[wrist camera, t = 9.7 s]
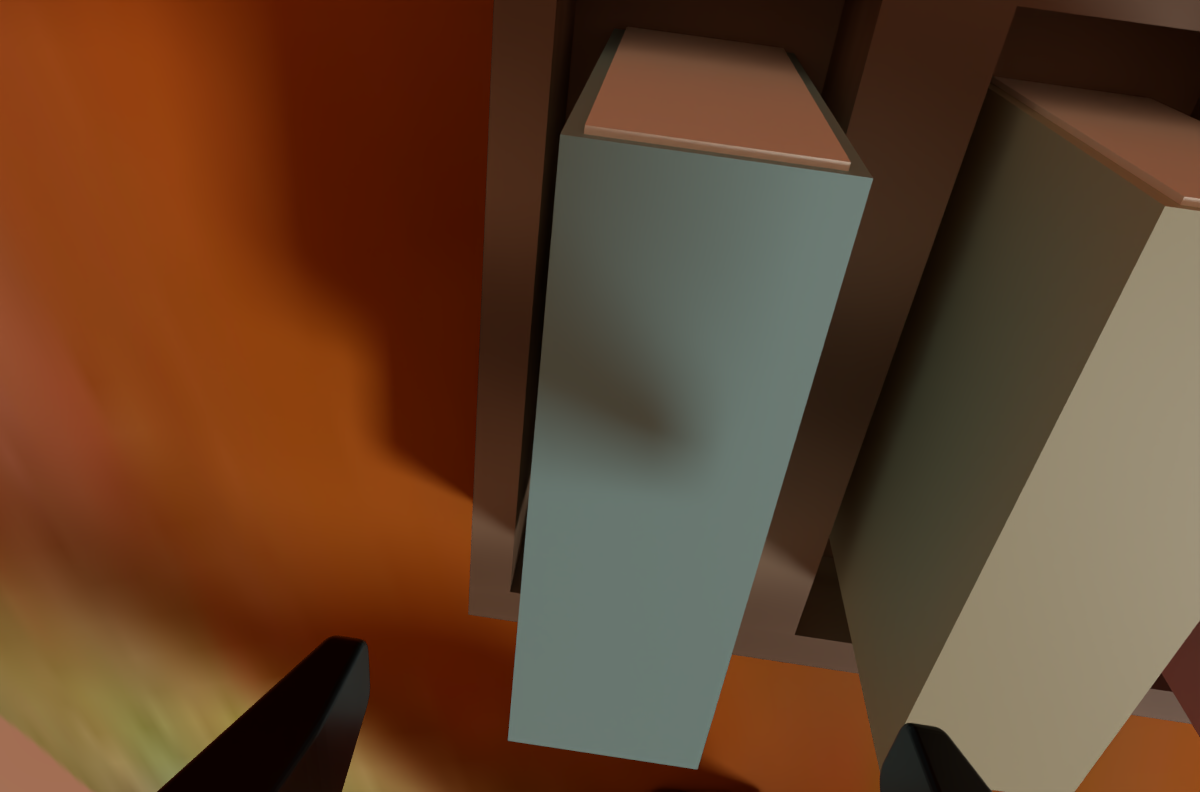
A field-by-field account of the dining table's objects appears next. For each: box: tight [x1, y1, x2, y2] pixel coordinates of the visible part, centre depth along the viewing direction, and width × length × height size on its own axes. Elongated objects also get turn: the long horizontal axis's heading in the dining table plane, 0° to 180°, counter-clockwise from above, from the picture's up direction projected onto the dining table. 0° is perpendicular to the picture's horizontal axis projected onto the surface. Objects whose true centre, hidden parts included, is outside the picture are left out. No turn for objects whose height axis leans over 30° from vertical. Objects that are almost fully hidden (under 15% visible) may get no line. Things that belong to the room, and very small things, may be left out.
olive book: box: [829, 76, 1200, 792], centre depth 15 cm, size 11×4×8 cm, turn 174°
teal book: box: [508, 27, 873, 769], centre depth 15 cm, size 11×4×8 cm, turn 174°
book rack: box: [468, 0, 1200, 724], centre depth 18 cm, size 16×21×4 cm
